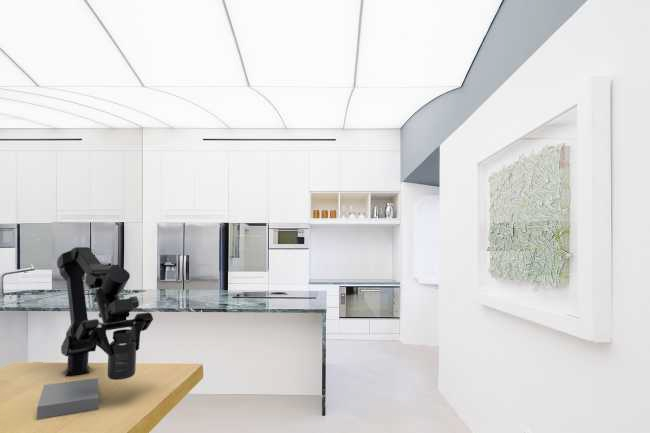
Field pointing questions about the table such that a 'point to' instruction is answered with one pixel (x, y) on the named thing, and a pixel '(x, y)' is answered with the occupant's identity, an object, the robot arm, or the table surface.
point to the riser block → (68, 398)
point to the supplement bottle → (122, 355)
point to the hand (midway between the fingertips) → (124, 352)
